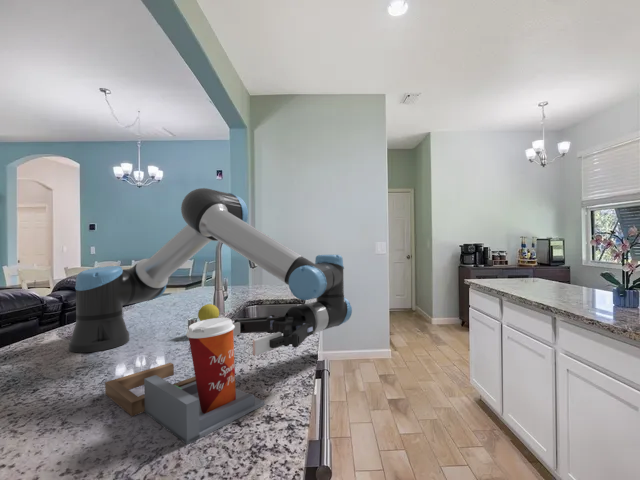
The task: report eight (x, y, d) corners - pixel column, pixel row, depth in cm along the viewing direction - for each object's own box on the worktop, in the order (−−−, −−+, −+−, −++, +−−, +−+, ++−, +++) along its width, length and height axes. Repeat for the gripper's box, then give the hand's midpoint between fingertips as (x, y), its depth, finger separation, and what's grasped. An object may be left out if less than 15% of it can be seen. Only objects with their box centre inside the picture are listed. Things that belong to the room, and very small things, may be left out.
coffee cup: (225, 420, 52) (216, 329, 52) (183, 417, 54) (174, 330, 54) (250, 394, 60) (242, 315, 60) (213, 393, 62) (205, 317, 62)
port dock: (187, 444, 48) (186, 404, 48) (144, 412, 57) (144, 378, 57) (264, 404, 59) (264, 372, 59) (218, 383, 69) (218, 355, 69)
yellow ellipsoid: (207, 338, 102) (206, 306, 102) (193, 335, 105) (193, 305, 105) (223, 333, 107) (223, 303, 108) (210, 330, 111) (210, 301, 111)
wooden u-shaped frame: (131, 416, 56) (131, 402, 56) (105, 394, 64) (105, 382, 64) (201, 389, 66) (201, 377, 66) (170, 372, 75) (170, 362, 75)
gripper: (347, 344, 70) (275, 376, 54) (272, 327, 87) (199, 347, 70) (346, 310, 71) (274, 332, 54) (271, 299, 87) (198, 313, 71)
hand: (231, 341), depth 62 cm, fingers open, 13 cm apart
